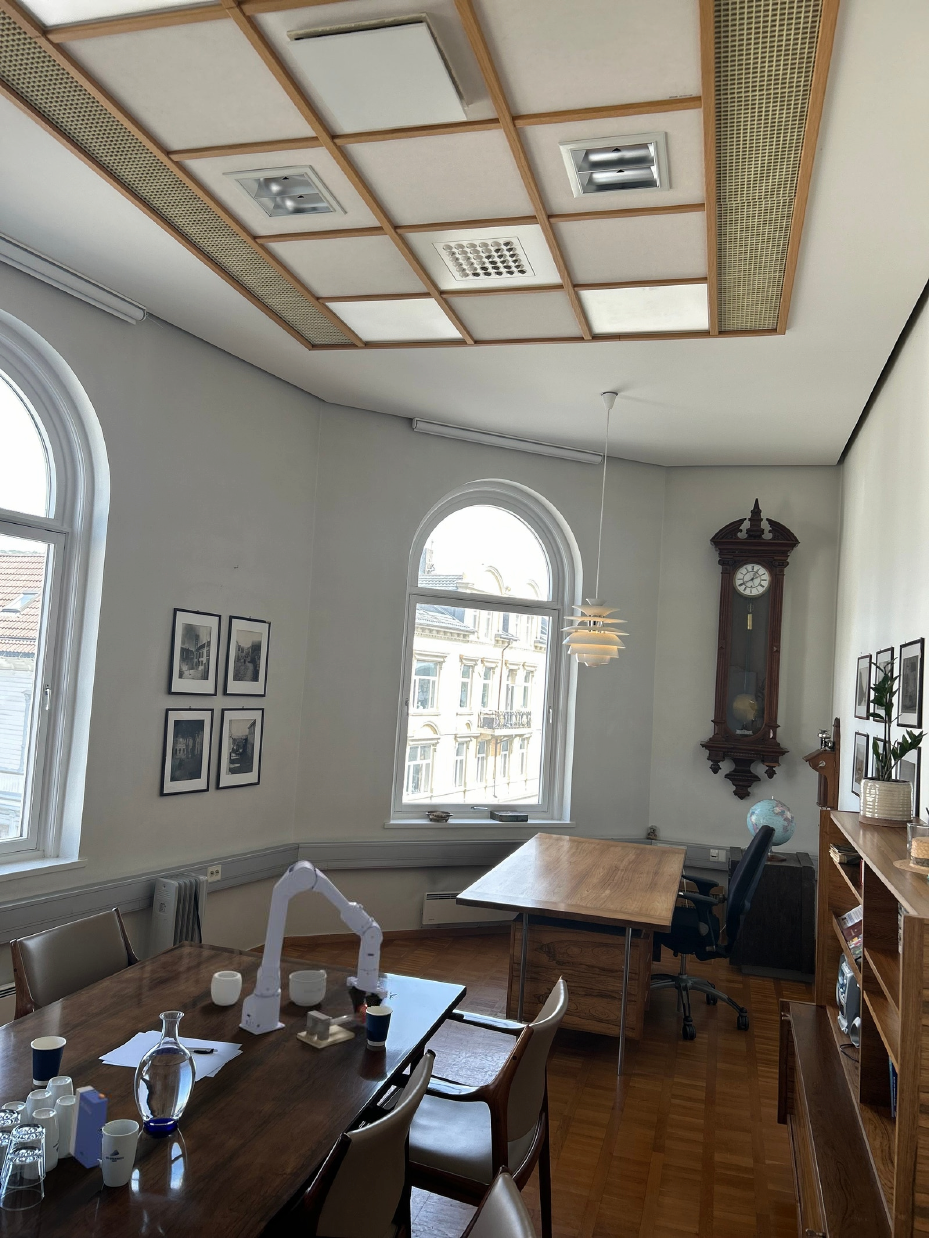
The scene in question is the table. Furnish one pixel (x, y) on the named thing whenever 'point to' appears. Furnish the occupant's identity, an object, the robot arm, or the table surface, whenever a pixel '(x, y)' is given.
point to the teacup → (307, 987)
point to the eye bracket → (323, 1031)
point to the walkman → (88, 1126)
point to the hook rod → (351, 1016)
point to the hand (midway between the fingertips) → (364, 1018)
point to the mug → (226, 987)
